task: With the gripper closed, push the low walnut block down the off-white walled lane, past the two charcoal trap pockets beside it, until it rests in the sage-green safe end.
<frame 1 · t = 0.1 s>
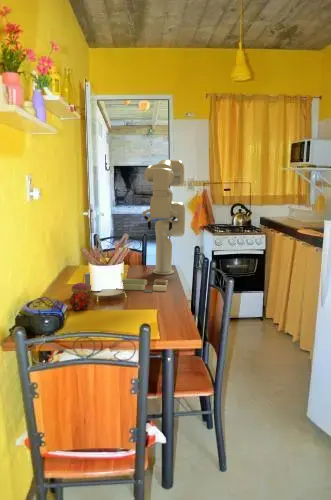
hand: (159, 230, 203), 31 cm above the table, tool pointing down, fingers open, 9 cm apart
lane: (145, 287, 218), on the table
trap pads: (145, 287, 218), on the table
medicine box: (93, 290, 209), on the table
cupcake: (80, 298, 195), on the table
dragon fruit: (80, 309, 178), on the table
walnut block: (160, 288, 217), on the table
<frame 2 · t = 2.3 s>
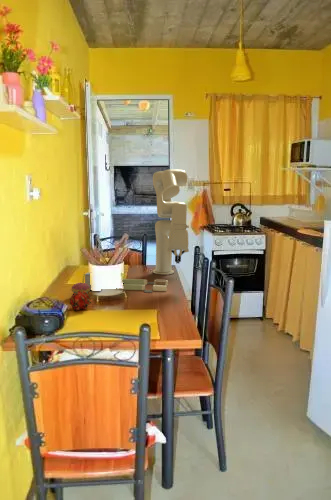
hand: (177, 263, 214), 13 cm above the table, tool pointing down, fingers closed
nothing on the table moved.
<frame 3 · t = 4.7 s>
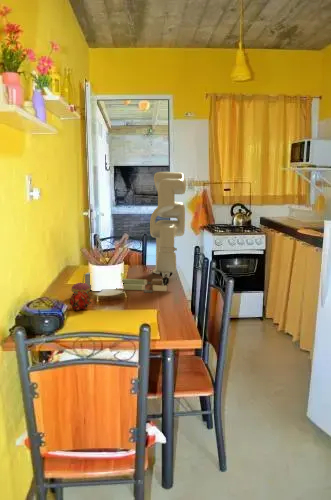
hand: (165, 284, 217), 2 cm above the table, tool pointing down, fingers closed
walnut block: (156, 287, 217), on the table, touching gripper
everything else where it was.
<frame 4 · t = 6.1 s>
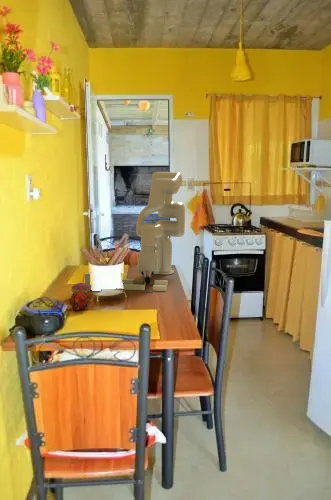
hand: (147, 284, 217), 2 cm above the table, tool pointing down, fingers closed
walnut block: (138, 286, 218), on the table, touching gripper
everything else where it was.
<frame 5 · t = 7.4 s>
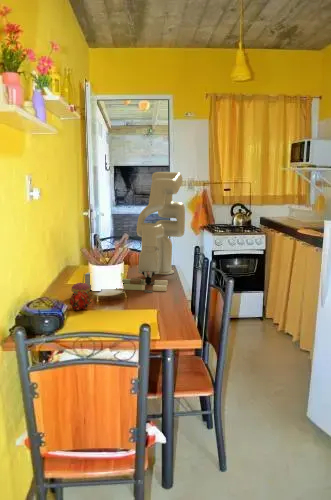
hand: (148, 284, 217), 2 cm above the table, tool pointing down, fingers closed
walnut block: (135, 287, 218), on the table
everything else where it was.
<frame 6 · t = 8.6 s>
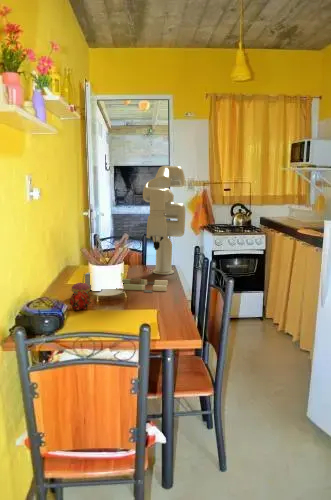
hand: (156, 249, 215), 20 cm above the table, tool pointing down, fingers closed
nothing on the table moved.
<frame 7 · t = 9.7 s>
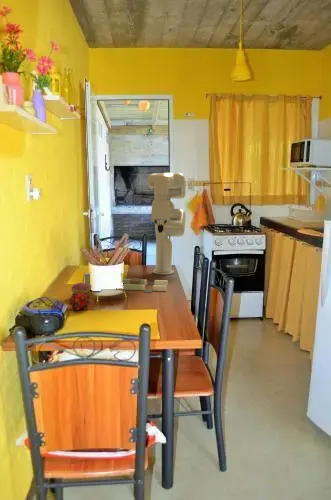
hand: (160, 232, 227), 27 cm above the table, tool pointing down, fingers closed
nothing on the table moved.
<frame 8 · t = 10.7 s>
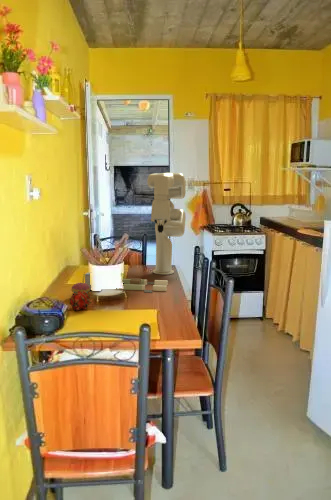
hand: (160, 232, 227), 27 cm above the table, tool pointing down, fingers closed
nothing on the table moved.
at the end: walnut block inside the target area (0.8 cm from its centre), on the table; walnut block tilted 0°; walnut block touching table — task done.
